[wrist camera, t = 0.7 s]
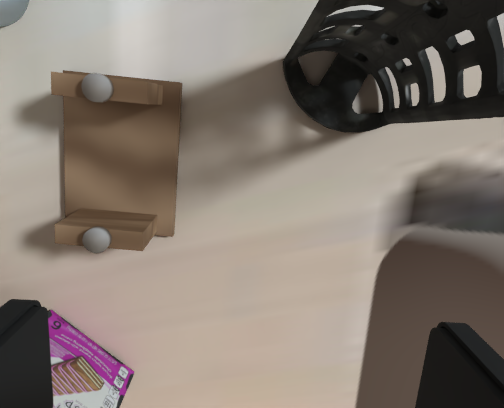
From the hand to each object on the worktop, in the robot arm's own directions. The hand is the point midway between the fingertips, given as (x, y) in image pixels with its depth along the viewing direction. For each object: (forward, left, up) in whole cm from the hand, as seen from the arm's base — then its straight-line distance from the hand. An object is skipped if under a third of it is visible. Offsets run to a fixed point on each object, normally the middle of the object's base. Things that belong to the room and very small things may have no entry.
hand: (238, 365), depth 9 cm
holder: (-10, +8, -28) cm, 30 cm away
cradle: (-1, -11, -28) cm, 30 cm away
